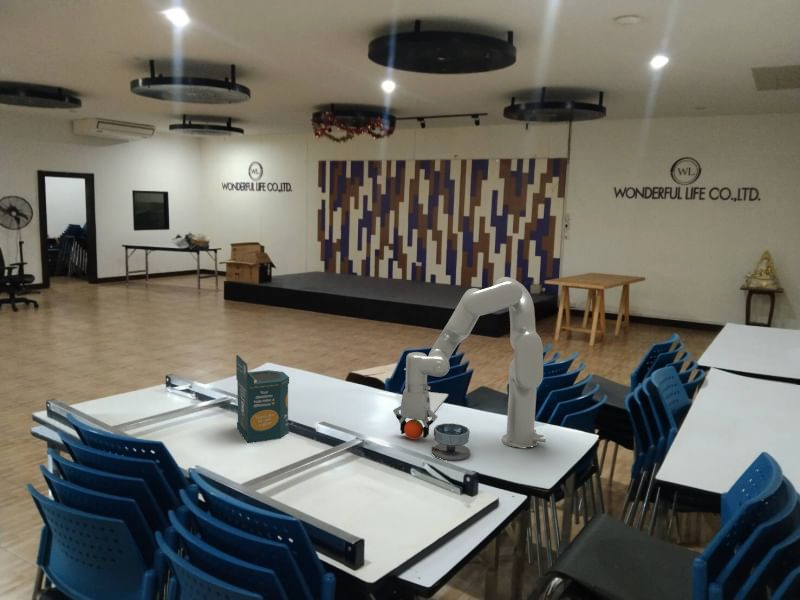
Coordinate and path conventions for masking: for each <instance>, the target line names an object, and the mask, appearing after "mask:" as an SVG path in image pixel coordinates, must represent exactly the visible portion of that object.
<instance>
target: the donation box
mask: <svg viewBox="0 0 800 600" xmlns="http://www.w3.org/2000/svg"><path fill="white" fill-rule="evenodd" d="M235 360H236V362H235V364H236V365H235V368H236V369H235V370H236V376H235V377H236V381H237V422H236V429H237V431H238V430H239V431H238V432H239V434H240V435H241V434H242V435H241V436H242V438H243V437H244V438H243V439H244V441H245V440H246V441H245V442H246V444H247V443H248V444H254V443H259V442H266V441H272V440H280V439H283V438H284V437H285V436H286V435H288V434H290V426H289V384H290V376H288V375H287V374H286V373H285V372H284V371H280V370H270V369H267V370H258V371H248V364H247V362H245V360H244V359H243V358H242V357H241V356H240V355H239V354H236V359H235ZM253 442H254V443H253Z"/></svg>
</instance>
